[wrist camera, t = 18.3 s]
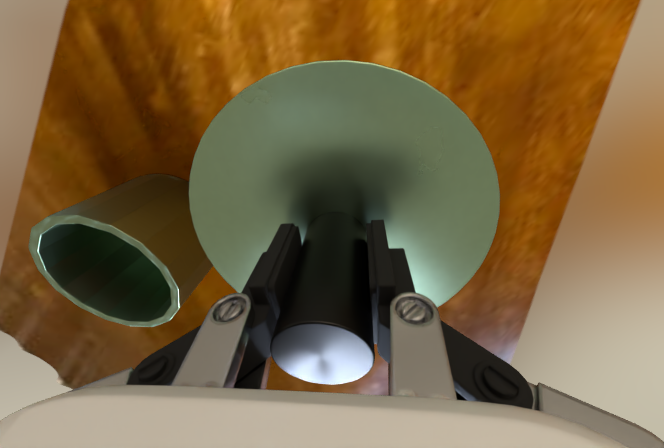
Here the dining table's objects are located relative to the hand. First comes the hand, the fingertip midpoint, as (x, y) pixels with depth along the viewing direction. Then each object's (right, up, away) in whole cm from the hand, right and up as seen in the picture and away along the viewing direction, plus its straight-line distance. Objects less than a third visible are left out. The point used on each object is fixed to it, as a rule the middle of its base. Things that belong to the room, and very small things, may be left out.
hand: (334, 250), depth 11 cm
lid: (0, +1, +1) cm, 2 cm away
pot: (-20, +1, +21) cm, 29 cm away
